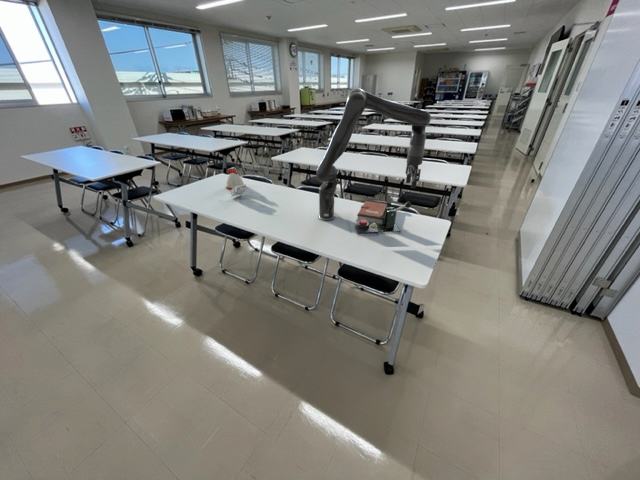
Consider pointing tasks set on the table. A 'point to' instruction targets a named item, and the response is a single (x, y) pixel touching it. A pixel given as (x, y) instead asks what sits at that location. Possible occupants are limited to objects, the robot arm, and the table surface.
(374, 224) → the lamp lens
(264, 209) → the table surface
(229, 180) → the kitchen timer
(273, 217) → the table surface
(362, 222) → the button
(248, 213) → the table surface
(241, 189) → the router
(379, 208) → the book
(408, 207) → the switch lever
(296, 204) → the table surface
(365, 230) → the emergency stop panel
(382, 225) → the switch bracket
